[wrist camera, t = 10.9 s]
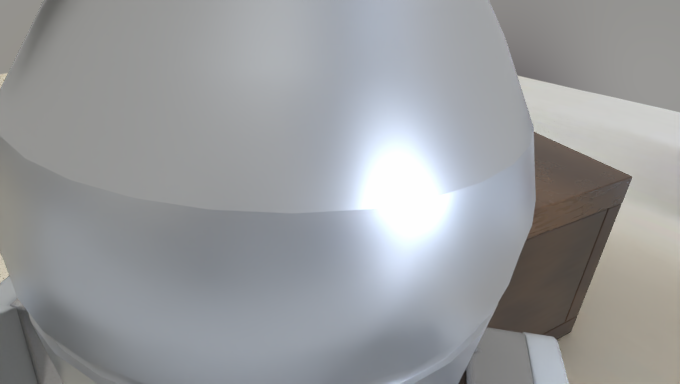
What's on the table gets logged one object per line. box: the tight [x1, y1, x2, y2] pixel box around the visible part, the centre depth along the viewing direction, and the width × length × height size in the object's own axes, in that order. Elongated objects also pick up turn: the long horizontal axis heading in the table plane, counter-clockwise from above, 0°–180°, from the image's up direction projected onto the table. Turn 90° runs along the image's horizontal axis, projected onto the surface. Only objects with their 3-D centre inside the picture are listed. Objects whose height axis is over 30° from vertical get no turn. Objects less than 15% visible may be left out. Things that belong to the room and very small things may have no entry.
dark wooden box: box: [487, 132, 632, 339], centre depth 28 cm, size 16×11×10 cm
